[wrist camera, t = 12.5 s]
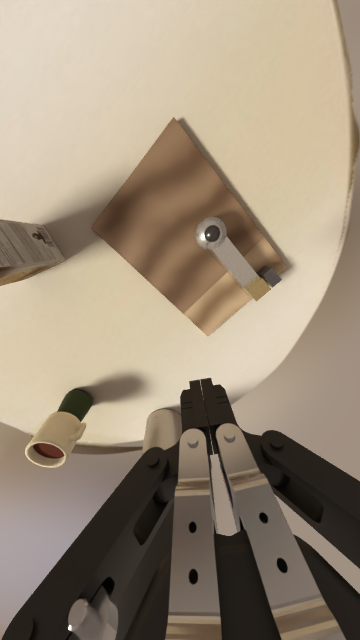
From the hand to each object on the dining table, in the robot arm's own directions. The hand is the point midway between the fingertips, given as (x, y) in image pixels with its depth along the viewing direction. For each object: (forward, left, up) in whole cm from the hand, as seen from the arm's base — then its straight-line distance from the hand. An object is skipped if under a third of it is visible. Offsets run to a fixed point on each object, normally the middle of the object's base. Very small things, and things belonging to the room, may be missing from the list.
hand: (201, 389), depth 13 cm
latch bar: (0, -10, -24) cm, 26 cm away
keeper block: (-7, -13, -24) cm, 28 cm away
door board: (+5, -7, -25) cm, 26 cm away
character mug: (0, +35, -25) cm, 43 cm away
